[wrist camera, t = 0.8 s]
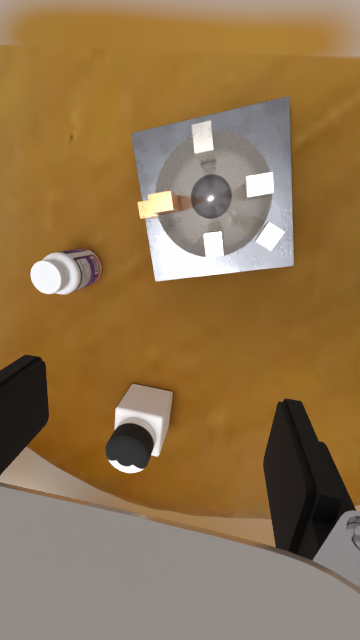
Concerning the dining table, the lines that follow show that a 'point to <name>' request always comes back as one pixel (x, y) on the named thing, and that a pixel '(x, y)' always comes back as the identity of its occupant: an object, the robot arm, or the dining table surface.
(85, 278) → the pill bottle
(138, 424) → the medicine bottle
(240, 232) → the round disc with cubes
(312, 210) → the dining table surface
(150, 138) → the base plate
